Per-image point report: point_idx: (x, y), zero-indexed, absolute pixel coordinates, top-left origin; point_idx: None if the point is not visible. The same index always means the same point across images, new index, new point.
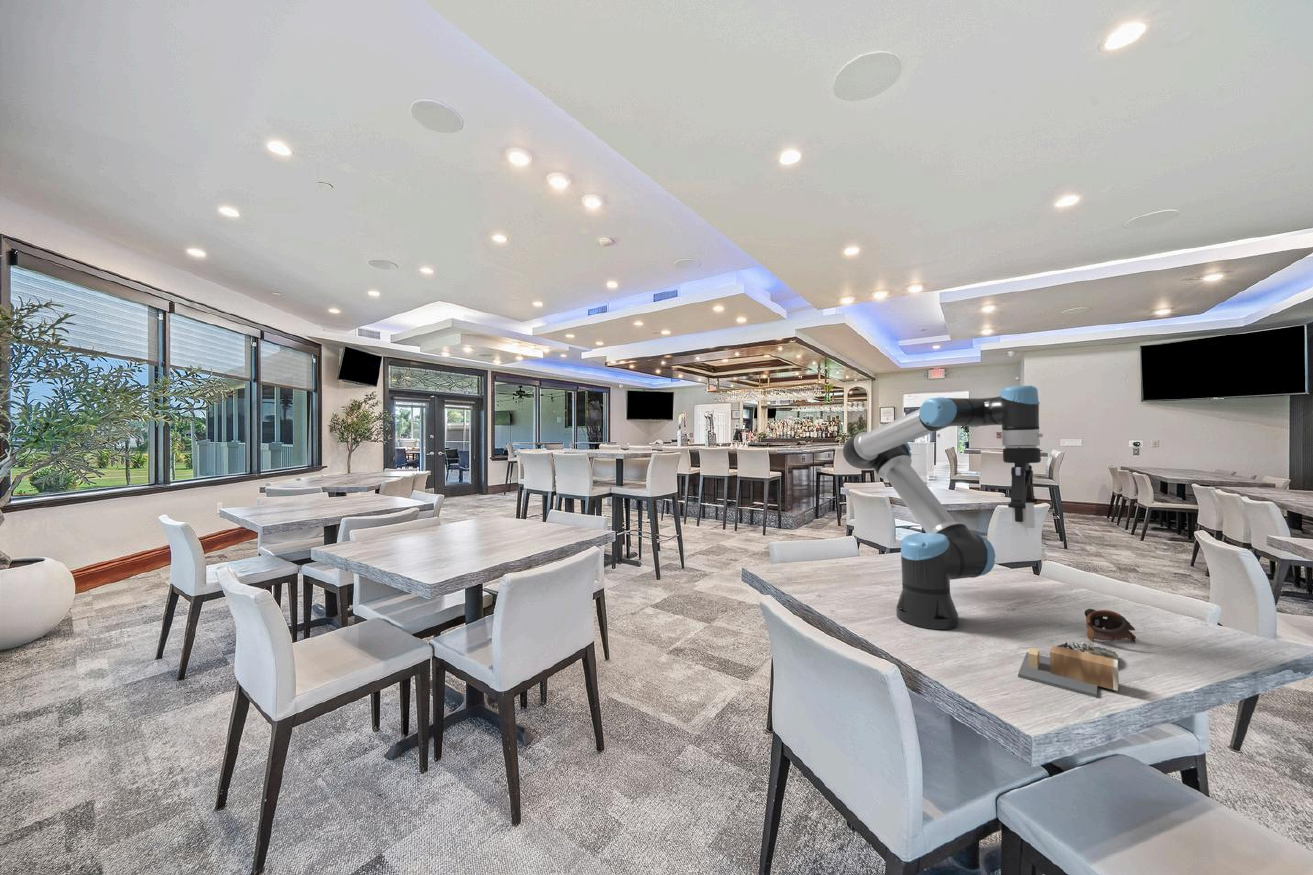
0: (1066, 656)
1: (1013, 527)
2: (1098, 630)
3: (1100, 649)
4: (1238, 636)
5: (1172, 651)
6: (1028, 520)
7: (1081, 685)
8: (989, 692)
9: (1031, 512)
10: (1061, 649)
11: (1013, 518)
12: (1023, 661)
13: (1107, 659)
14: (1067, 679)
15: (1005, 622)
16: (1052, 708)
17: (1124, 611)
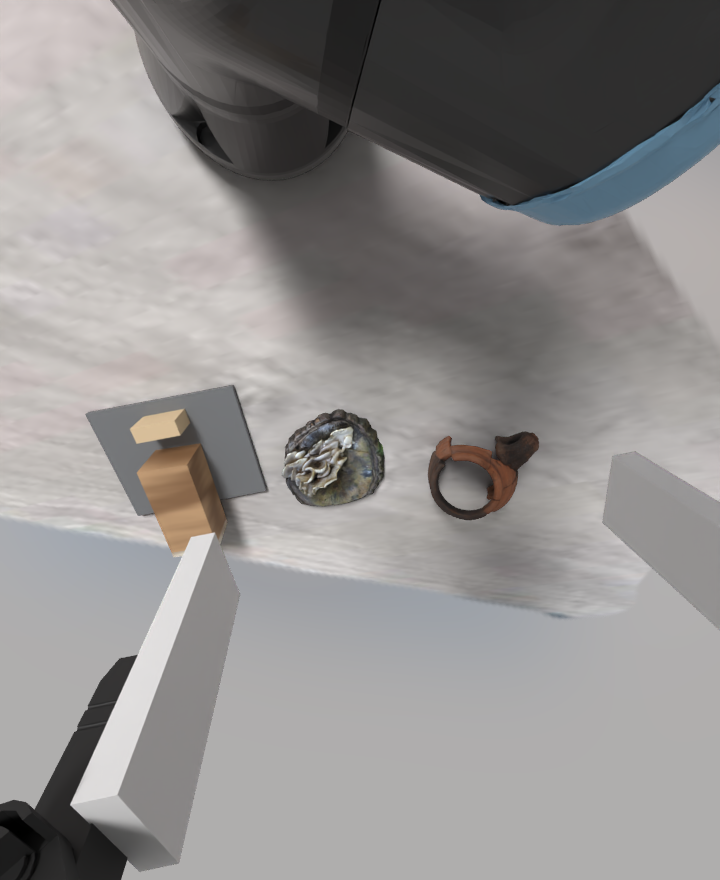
0: (147, 496)
1: (172, 583)
2: (432, 471)
3: (368, 474)
4: (639, 567)
5: (481, 530)
6: (651, 531)
7: None
8: None
9: (711, 608)
10: (176, 481)
11: (139, 661)
12: (166, 400)
13: None
14: None
15: (436, 271)
16: (17, 486)
17: (713, 434)
